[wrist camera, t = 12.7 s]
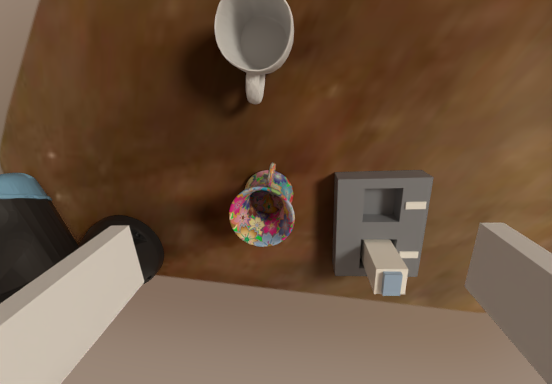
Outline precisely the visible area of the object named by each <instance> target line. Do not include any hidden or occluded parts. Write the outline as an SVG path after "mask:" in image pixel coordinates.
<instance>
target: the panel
mask: <svg viewBox="0 0 552 384" xmlns="http://www.w3.org/2000/svg"><path fill="white" fill-rule="evenodd" d="M432 183H433V177H432V176H431V175H429V174H427V173H426V172H424V171H423V170H404V171H365V172H335V186H334V223H333V259H332V263H333V268H334V273H335V276H367V274H366V271H365V268H364V265H363V263H362V260H361V257H360V249H361V239H390V240H391V242H392V243H393V245H394V247H395V248H396V250H397V252H398V253H399V255H400V256H401V258H402V260H403V261H404V263H405V265H406V266H407V268H408V275H407V277H417V275H418V269H419V262H420V256H421V250H422V244H423V238H424V232H425V226H426V220H427V214H428V208H429V202H430V195H431V189H432Z"/></svg>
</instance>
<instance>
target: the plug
mask: <svg viewBox="0 0 552 384" xmlns="http://www.w3.org/2000/svg"><path fill="white" fill-rule="evenodd" d="M360 257H361V260H362V263H363V265H364V268H365V271H366V274H367V276H368V279H369V282H370V284H371V287H372V290H373V292H374V294H382V295H383V296H400V294H405V289H406V282H407V275H408V268H407V266H406V265H405V263H404V261H403V260H402V258H401V256H400V255H399V253H398V252H397V250H396V248H395V247H394V245H393V243H392V242H391V240H390V239H361V249H360Z"/></svg>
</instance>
